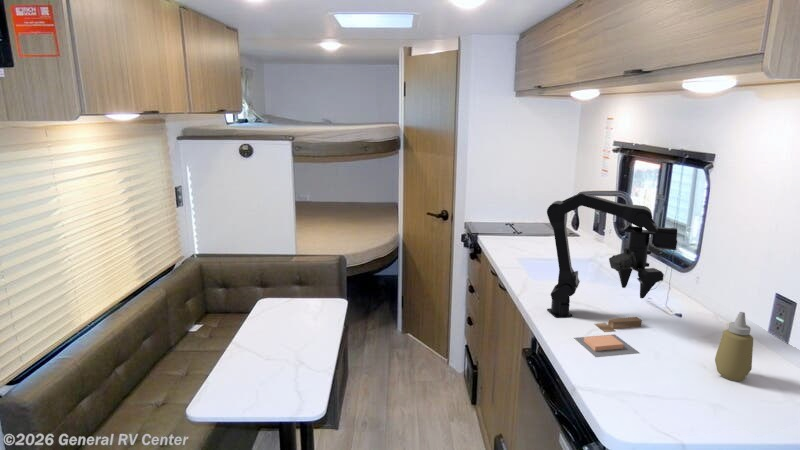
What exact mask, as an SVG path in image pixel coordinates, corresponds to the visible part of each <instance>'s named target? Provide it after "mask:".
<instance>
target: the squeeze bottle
mask: <svg viewBox="0 0 800 450" xmlns="http://www.w3.org/2000/svg"><path fill="white" fill-rule="evenodd" d="M751 329H752V328H751V326H749V325H748V324H747V321H746V313H745V312H744V311H739V312H738V314H737V317H736V318H735V320H734V321H733V322H732V321H731V322H729V323H728V327H727V329H725V330H723V331H722V335H721V338H720V341H719V345H718V348H717V351H716V354H715V356H714V361H715V362H714V363H715V366H716V371H717V373H718V374H719V375H720V377H722V378H724V379H727V380H729V381H730V380H731V381H732V382H733V381H735V382H742V381H744V380H745V379H746V377H747V376H748V375H749V373H750V372H751V371H752V368H753V367H752V366H753V351H754V350H753V347H754V337H753V335H751V334H750V333H751Z"/></svg>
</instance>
